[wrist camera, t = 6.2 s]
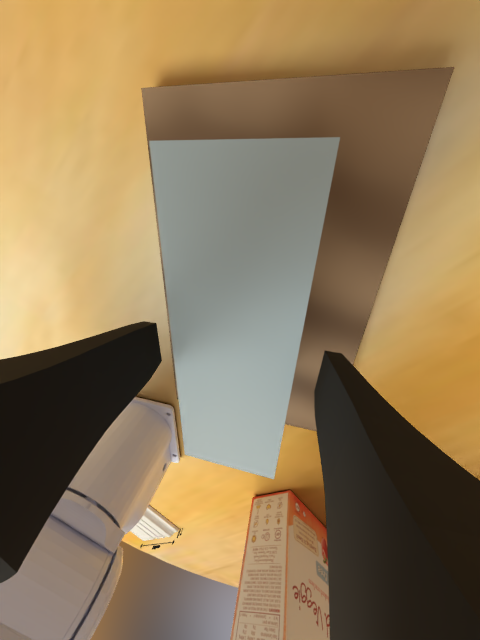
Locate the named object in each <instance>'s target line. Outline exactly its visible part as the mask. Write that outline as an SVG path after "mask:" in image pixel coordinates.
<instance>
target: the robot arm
mask: <svg viewBox="0 0 480 640" xmlns="http://www.w3.org/2000/svg"><path fill="white" fill-rule="evenodd" d="M161 361H162V360H161V353H160V346H159V339H158V332H157V325H156V323H150V322H139V323H135V324H131V325H128V326H124V327H121V328H118V329H115V330H112V331H108V332H105V333H102V334H99V335H96V336H93V337H89V338H86V339H83V340H79V341H76V342H72V343H69V344H66V345H62V346H59V347H55V348H51V349H47V350H43V351H39V352H35V353H30V354H26V355H22V356H17V357H12V358H7V359H2V360H0V640H90V639H91V637H92V636H93V634H94V632H95V630H96V628H97V626H98V624H99V622H100V620H101V619H102V616H103V615H104V613H105V610H106V608H107V606H108V604H109V602H110V600H111V597H112V595H113V593H114V591H115V588H116V586H117V583H118V580H119V577H120V574H121V570H122V565H123V548H122V547H120V546H119V543H120V542H121V540H122V538H123V536H124V535H125V534H126V533H128V532H129V531H130V530H131V529H132V528H133V527H134V526H135V525H136V524H137V523H138V522H139V521H140V519H141V518H142V517H143V515H144V513H145V511H146V509H147V507H148V505H149V504H150V502H151V500H152V498H153V496H154V494H155V492H156V490H157V488H158V486H159V484H160V482H161V480H162V478H163V476H164V474H165V472H166V470H167V468H168V466H169V465H170V463H171V462H175V463H178V462H179V461H180V453H179V445H178V437H177V429H176V422H175V414H174V408H173V407H172V406H171V405H168V404H163V403H159V402H155V401H151V400H146V399H142V398H138V397H135V396H136V395H137V394H138V393H139V392H140V391H141V389H142V388H143V387H144V386H145V385H146V383H147V382H148V381H149V380H150V378H151V377H152V375H153V374H154V372H155V371H156V369H157V368H158V366H159V364H160V363H161ZM314 409H315V422H316V429H317V436H318V443H319V451H320V458H321V465H322V472H323V480H324V490H325V506H326V526H327V552H328V583H329V624H330V640H480V481H479V480H478V479H477V478H476V477H474V476H473V475H472V474H470V473H469V472H468V471H466V470H465V469H464V468H462V467H461V466H460V465H459V464H457V463H456V462H455V461H454V460H452V459H451V458H450V457H449V456H447V455H446V454H445V453H444V452H443V451H441V450H440V449H439V448H438V447H437V446H435V445H434V444H433V443H432V442H431V441H430V440H428V439H427V438H426V437H425V436H424V435H422V434H421V433H420V432H419V431H418V430H417V429H415V428H414V427H413V426H412V425H411V424H410V423H409V422H408V421H407V420H406V419H404V418H403V417H402V416H401V415H400V414H399V413H398V412H397V411H396V410H395V409H394V408H393V407H392V406H391V405H390V404H389V403H388V402H387V401H386V400H385V399H384V398H383V397H382V396H381V395H380V394H379V393H378V392H377V391H376V390H375V389H374V388H373V387H372V386H371V385H370V384H369V383H368V382H367V381H366V379H365V378H364V377H363V376H362V375H361V374H360V373H359V372H358V371H357V370H356V368H355V367H354V366H353V365H352V364H351V363H350V362H349V361H348V359H347V358H346V357H345V356H344V355H343V354H342V353H337V352H331V351H325V352H324V355H323V359H322V363H321V367H320V371H319V375H318V379H317V382H316V386H315V390H314Z"/></svg>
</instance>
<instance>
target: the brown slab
mask: <svg viewBox="0 0 480 640" xmlns="http://www.w3.org/2000/svg"><path fill="white" fill-rule="evenodd" d="M453 69H454V67H448V68H433V69H418V70H403V71H388V72H374V73H359V74H344V75H329V76H314V77H299V78H284V79H269V80H254V81H239V82H224V83H209V84H194V85H179V86H165V87H150V88H141V89H142V97H143V106H144V115H145V124H146V132H147V141H148V150H149V158H150V167H151V176H152V184H153V193H154V202H155V211H156V219H157V228H158V237H159V245H160V254H161V263H162V271H163V280H164V289H165V297H166V306H167V315H168V324H169V332H170V341H171V350H172V358H173V367H174V376H175V384H176V393H177V399H178V390H177V381H176V373H175V364H174V355H173V346H172V338H171V329H170V320H169V311H168V302H167V294H166V285H165V276H164V267H163V259H162V250H161V241H160V232H159V224H158V215H157V206H156V197H155V188H154V180H153V171H152V162H151V153H150V145H149V141H164V140H218V139H272V138H326V137H340V141H339V146H338V151H337V156H336V162H335V167H334V172H333V177H332V182H331V187H330V193H329V198H328V203H327V208H326V213H325V218H324V224H323V229H322V234H321V239H320V244H319V249H318V255H317V260H316V265H315V270H314V275H313V280H312V286H311V291H310V296H309V301H308V306H307V311H306V317H305V322H304V327H303V332H302V337H301V342H300V347H299V353H298V358H297V363H296V368H295V373H294V378H293V384H292V389H291V394H290V399H289V404H288V409H287V415H286V420H285V424H287V425H291V426H296V427H300V428H304V429H309V430H313V431H317V429H316V422H315V409H314V390H315V386H316V382H317V379H318V375H319V371H320V367H321V363H322V359H323V355H324V352H325V351H331V352H337V353H342V354H343V355H344V356H345V357H346V358H347V359H348V361H349V362H350V363H351V364H352V365H353V363H354V360H355V357H356V354H357V351H358V348H359V345H360V342H361V339H362V337H363V334H364V331H365V328H366V325H367V322H368V319H369V316H370V313H371V310H372V307H373V304H374V301H375V298H376V295H377V292H378V290H379V287H380V284H381V281H382V278H383V275H384V272H385V269H386V266H387V263H388V260H389V257H390V254H391V251H392V248H393V245H394V243H395V240H396V237H397V234H398V231H399V228H400V225H401V222H402V219H403V216H404V213H405V210H406V207H407V204H408V201H409V198H410V196H411V193H412V190H413V187H414V184H415V181H416V178H417V175H418V172H419V169H420V166H421V163H422V160H423V157H424V154H425V151H426V149H427V146H428V143H429V140H430V137H431V134H432V131H433V128H434V125H435V122H436V119H437V116H438V113H439V110H440V107H441V104H442V102H443V99H444V96H445V93H446V90H447V87H448V84H449V81H450V78H451V75H452V72H453ZM178 400H179V399H178Z"/></svg>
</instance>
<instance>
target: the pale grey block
mask: <svg viewBox="0 0 480 640" xmlns="http://www.w3.org/2000/svg"><path fill="white" fill-rule="evenodd" d="M339 141H340V137H326V138H272V139H218V140H164V141H149V145H150V153H151V162H152V171H153V180H154V188H155V197H156V206H157V215H158V224H159V232H160V241H161V250H162V259H163V267H164V276H165V285H166V294H167V302H168V311H169V320H170V329H171V338H172V346H173V355H174V364H175V373H176V381H177V390H178V399H179V408H180V416H181V425H182V434H183V443H184V452H185V455H188V456H192V457H195V458H199V459H203V460H206V461H210V462H213V463H217V464H221V465H224V466H228V467H231V468H235V469H238V470H242V471H246V472H249V473H253V474H256V475H260V476H264V477H267V478H271V479H274V477H275V471H276V466H277V461H278V456H279V451H280V446H281V440H282V435H283V430H284V425H285V420H286V415H287V409H288V404H289V399H290V394H291V389H292V384H293V378H294V373H295V368H296V363H297V358H298V353H299V347H300V342H301V337H302V332H303V327H304V322H305V317H306V311H307V306H308V301H309V296H310V291H311V286H312V280H313V275H314V270H315V265H316V260H317V255H318V249H319V244H320V239H321V234H322V229H323V224H324V218H325V213H326V208H327V203H328V198H329V193H330V187H331V182H332V177H333V172H334V167H335V162H336V156H337V151H338V146H339Z"/></svg>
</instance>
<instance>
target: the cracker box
mask: <svg viewBox="0 0 480 640" xmlns="http://www.w3.org/2000/svg"><path fill="white" fill-rule="evenodd" d="M230 640H330V624H329V583H328V552H327V529H326V528H325V527H324V526H323V525H322V524H321V523H320V521H319V520H318V519H317V518H316V517H315V516H314V515H313V514H312V513H311V512H310V511H309V510H308V509H307V508H306V507H305V505H304V504H303V503H302V502H301V501H300V500H299V499H298V498H297V497H296V496H295V495H294V494H293V492H292V491H290V490H288V491H283V492H278V493H273V494H268V495H262V496H257V497H253V499H252V505H251V511H250V517H249V524H248V530H247V537H246V543H245V549H244V556H243V562H242V568H241V575H240V581H239V587H238V594H237V600H236V606H235V613H234V619H233V626H232V632H231V638H230Z"/></svg>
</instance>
